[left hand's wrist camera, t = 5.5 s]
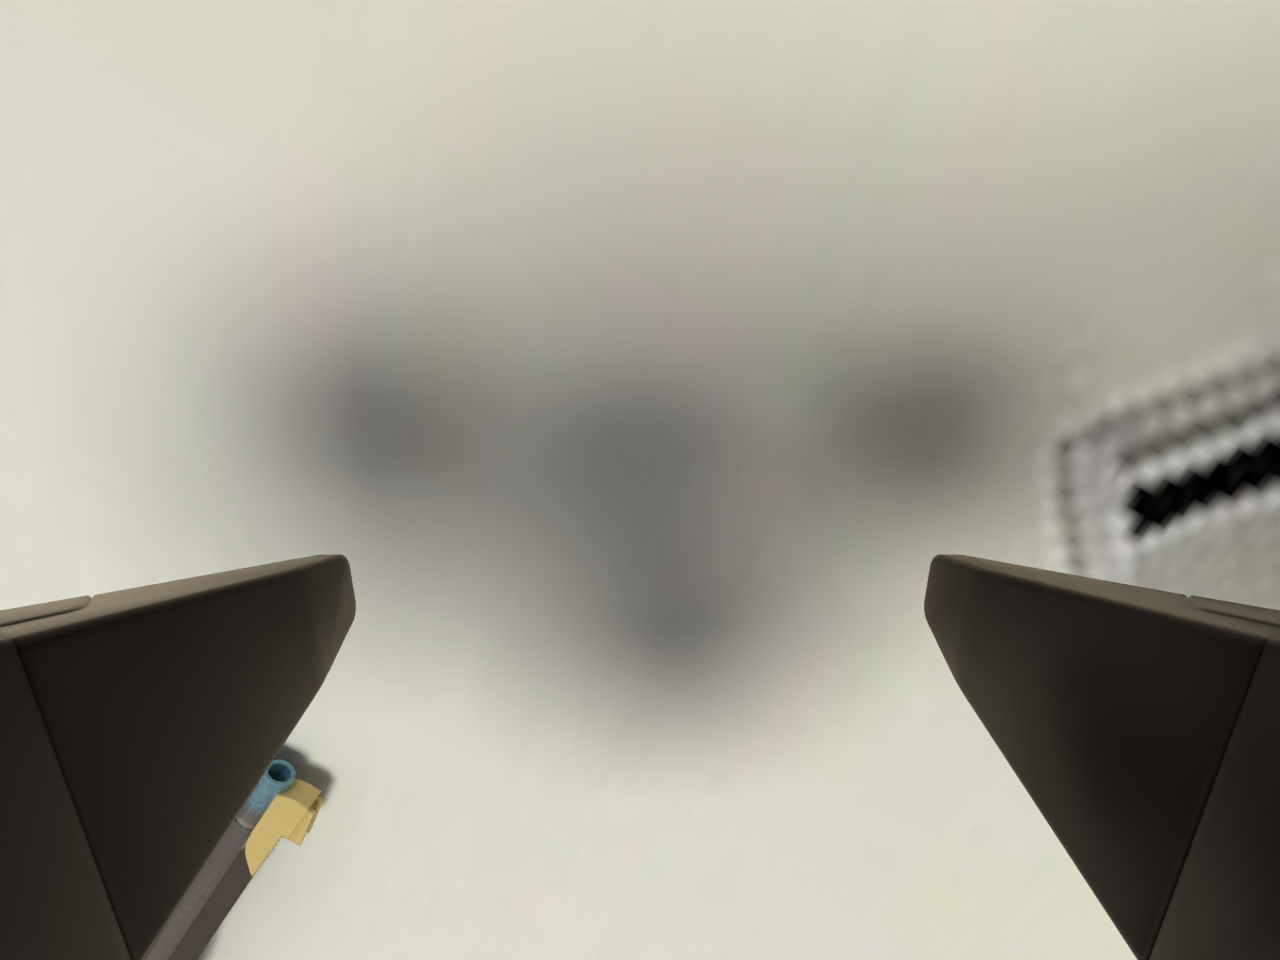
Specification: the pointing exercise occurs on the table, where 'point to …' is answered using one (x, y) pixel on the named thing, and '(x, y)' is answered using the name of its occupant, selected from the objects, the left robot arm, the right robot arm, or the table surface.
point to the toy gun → (238, 860)
